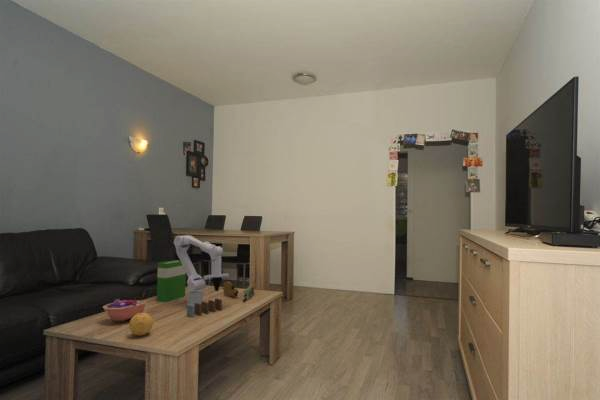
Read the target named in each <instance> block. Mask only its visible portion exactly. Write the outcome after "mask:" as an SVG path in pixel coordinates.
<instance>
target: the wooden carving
mask: <svg viewBox="0 0 600 400" xmlns="http://www.w3.org/2000/svg"><path fill="white" fill-rule="evenodd" d="M222 286H223V287H222V290H223V294H224V295H225V297H228V298H231V297H233V298H237V297H238V294H239V290H238V288H235V284H234V283H232V282H231V281H226V282H223V285H222Z"/></svg>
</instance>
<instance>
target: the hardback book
mask: <svg viewBox="0 0 600 400" xmlns="http://www.w3.org/2000/svg"><path fill="white" fill-rule="evenodd" d="M186 277H187V274H186V272H185V270H184V268H183V266H182V263H181V261H180V260H179V259H175V260H169V261H168V260H167V261H163V262H157V276H156V278H157V283H156V284H157V285H156V287H157V288H156V302H161V303H168V302H171V301H174V300H179V299H181V297H182V298H185V297H186V284H187V281H186V279H187V278H186ZM184 296H185V297H184Z"/></svg>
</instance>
